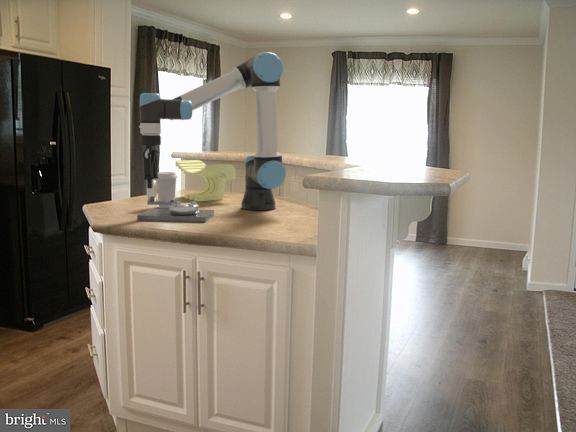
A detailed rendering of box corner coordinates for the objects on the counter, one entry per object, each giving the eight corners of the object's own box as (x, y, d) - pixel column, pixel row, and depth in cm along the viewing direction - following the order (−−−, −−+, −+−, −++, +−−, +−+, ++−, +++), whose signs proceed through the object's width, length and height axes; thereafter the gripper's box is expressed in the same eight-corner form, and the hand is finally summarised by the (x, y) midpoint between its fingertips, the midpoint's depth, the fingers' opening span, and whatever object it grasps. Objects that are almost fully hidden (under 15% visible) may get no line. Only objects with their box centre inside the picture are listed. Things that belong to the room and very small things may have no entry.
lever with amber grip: (200, 210, 219) (200, 180, 216) (196, 215, 208) (195, 183, 206) (151, 209, 218) (151, 179, 216) (144, 214, 208) (143, 182, 206)
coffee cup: (172, 209, 234) (171, 174, 232) (151, 208, 236) (150, 173, 233) (181, 206, 243) (180, 172, 241) (161, 205, 245) (160, 171, 243)
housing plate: (213, 214, 222) (213, 209, 221) (205, 222, 205) (205, 216, 205) (150, 213, 223) (150, 208, 223) (137, 220, 206) (137, 214, 206)
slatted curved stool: (235, 201, 262) (235, 163, 259) (206, 203, 252) (206, 164, 249) (203, 194, 285) (203, 159, 282) (176, 196, 275) (175, 160, 272)
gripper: (146, 134, 216) (147, 193, 220) (134, 134, 200) (136, 198, 204) (165, 134, 216) (166, 193, 220) (154, 135, 200) (156, 198, 204)
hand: (151, 195), depth 212 cm, fingers closed on lever with amber grip, 3 cm apart
